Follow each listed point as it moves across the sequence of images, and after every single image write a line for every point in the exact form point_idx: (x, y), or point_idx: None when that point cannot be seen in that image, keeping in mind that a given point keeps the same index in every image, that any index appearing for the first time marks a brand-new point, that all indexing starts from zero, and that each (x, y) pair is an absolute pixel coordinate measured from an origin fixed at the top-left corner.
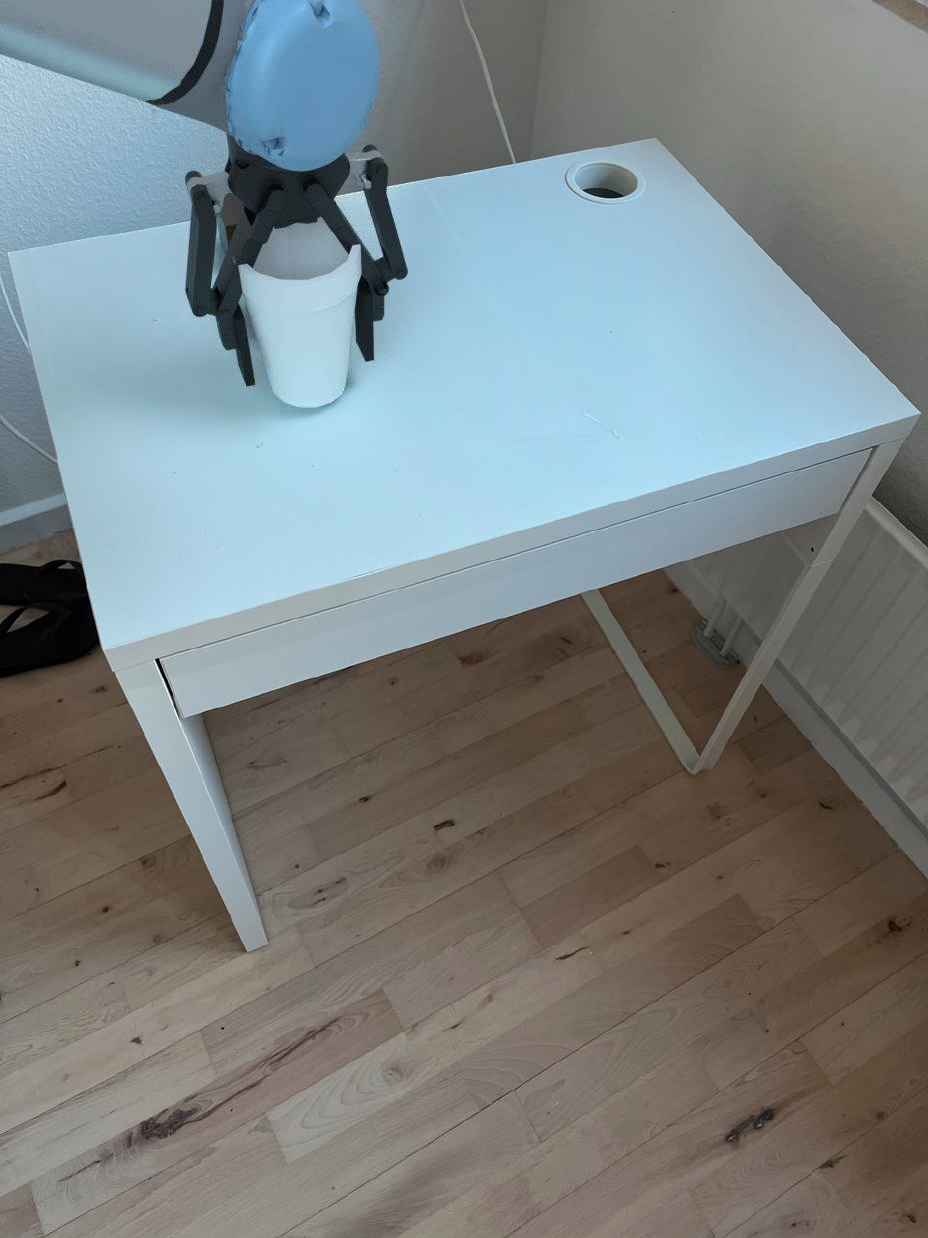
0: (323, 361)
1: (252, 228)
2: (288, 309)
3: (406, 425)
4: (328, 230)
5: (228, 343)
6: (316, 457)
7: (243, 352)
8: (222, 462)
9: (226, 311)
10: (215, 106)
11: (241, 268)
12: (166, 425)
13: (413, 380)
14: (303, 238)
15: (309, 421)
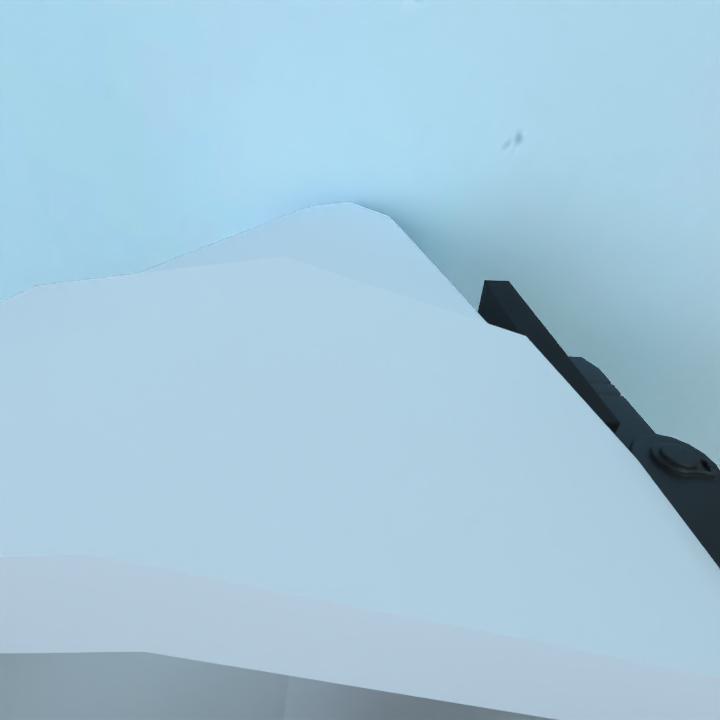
0: (300, 220)
1: None
2: (477, 333)
3: (137, 79)
4: None
5: (583, 370)
6: (398, 34)
7: (541, 333)
8: (623, 111)
9: (690, 465)
10: None
11: None
12: (653, 279)
13: (116, 238)
14: (225, 685)
15: (372, 186)
